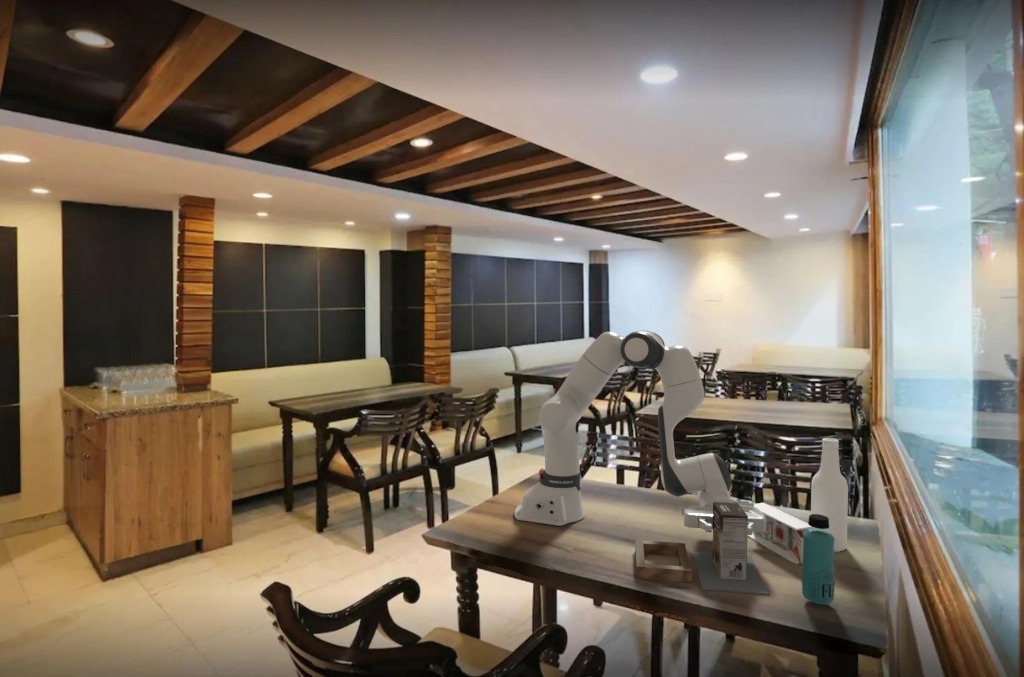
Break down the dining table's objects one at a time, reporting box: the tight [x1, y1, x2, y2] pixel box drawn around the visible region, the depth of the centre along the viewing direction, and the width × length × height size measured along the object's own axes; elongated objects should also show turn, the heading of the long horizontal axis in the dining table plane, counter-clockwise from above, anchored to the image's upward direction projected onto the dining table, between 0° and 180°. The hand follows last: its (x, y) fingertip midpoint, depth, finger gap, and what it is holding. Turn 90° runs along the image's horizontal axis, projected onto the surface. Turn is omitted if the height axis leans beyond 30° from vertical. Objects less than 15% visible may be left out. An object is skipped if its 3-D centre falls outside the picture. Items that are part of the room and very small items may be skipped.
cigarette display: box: [748, 502, 814, 565], centre depth 155 cm, size 20×6×9 cm, turn 16°
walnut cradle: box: [634, 539, 693, 584], centre depth 146 cm, size 13×16×3 cm
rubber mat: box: [691, 551, 771, 596], centre depth 142 cm, size 15×20×1 cm
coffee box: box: [712, 502, 749, 580], centre depth 141 cm, size 9×6×16 cm
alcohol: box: [810, 437, 849, 553], centre depth 156 cm, size 9×9×30 cm
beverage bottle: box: [801, 513, 836, 605], centre depth 126 cm, size 6×7×20 cm
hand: (728, 530), depth 140 cm, fingers open, 8 cm apart
